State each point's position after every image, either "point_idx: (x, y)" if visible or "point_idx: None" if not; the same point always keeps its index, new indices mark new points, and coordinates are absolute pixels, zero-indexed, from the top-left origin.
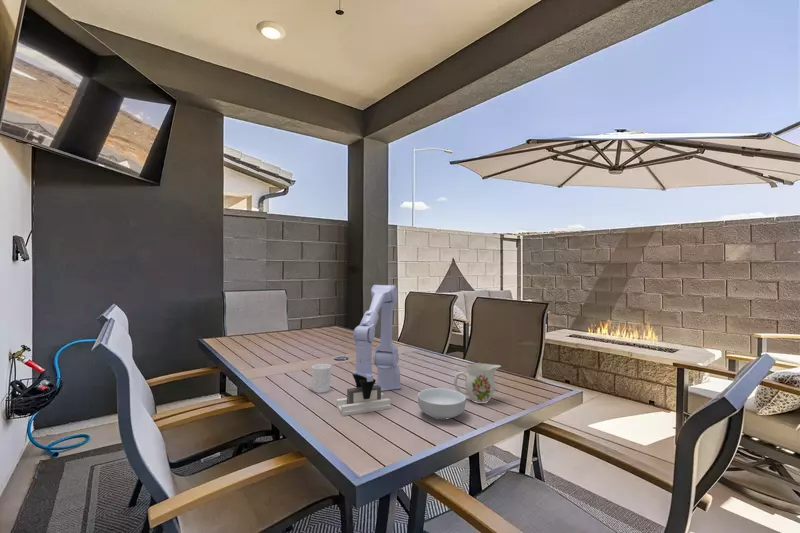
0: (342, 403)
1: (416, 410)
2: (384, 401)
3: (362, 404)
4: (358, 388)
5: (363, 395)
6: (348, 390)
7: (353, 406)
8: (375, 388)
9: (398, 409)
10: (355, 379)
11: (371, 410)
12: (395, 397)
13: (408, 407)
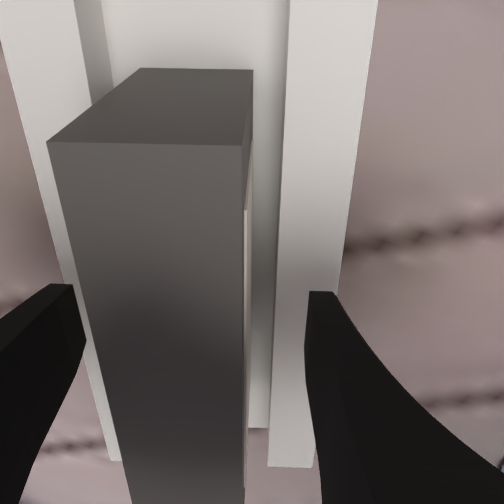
0: (287, 8)
1: (49, 490)
2: (102, 417)
3: (52, 228)
4: (184, 336)
5: (14, 309)
6: (131, 142)
7: (28, 108)
8: (132, 492)
9: (91, 429)
10: (356, 447)
11: None
12: None
13: (111, 478)
